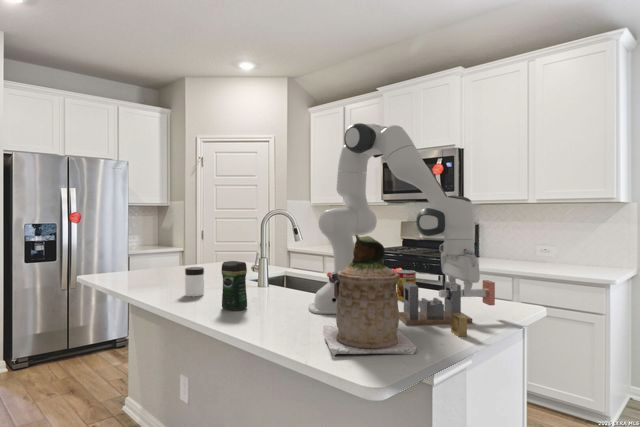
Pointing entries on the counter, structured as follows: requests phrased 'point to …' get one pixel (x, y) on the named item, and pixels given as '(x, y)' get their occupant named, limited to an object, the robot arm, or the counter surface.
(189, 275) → the jar
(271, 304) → the counter surface
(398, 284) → the canned food
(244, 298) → the coffee jar
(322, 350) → the counter surface
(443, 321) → the shaft rig
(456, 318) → the frame
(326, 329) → the cookie jar
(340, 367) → the counter surface
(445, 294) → the shaft
